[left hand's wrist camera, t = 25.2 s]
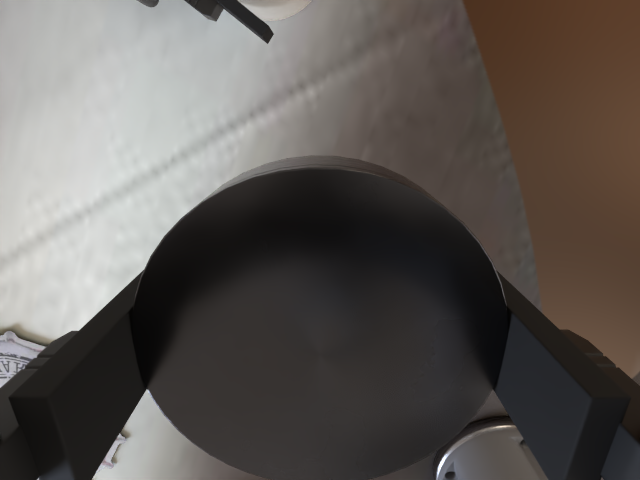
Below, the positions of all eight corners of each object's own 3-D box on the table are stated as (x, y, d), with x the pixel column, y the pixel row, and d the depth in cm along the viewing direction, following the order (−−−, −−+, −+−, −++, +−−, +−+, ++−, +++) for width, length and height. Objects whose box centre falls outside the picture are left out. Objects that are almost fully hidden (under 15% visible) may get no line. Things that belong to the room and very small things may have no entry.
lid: (528, 196, 11) (576, 218, 9) (421, 449, 14) (437, 505, 12) (175, 118, 10) (139, 122, 8) (153, 406, 13) (125, 458, 11)
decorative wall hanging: (-137, 375, 41) (38, 536, 50) (-140, 377, 41) (37, 538, 50) (37, 297, 37) (190, 485, 47) (35, 298, 37) (189, 487, 47)
